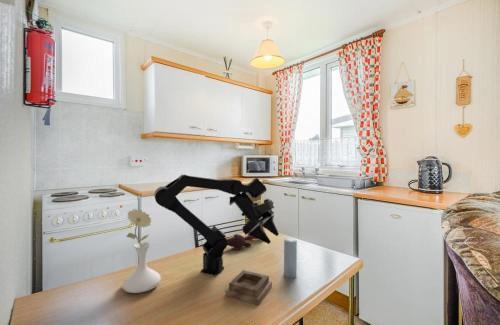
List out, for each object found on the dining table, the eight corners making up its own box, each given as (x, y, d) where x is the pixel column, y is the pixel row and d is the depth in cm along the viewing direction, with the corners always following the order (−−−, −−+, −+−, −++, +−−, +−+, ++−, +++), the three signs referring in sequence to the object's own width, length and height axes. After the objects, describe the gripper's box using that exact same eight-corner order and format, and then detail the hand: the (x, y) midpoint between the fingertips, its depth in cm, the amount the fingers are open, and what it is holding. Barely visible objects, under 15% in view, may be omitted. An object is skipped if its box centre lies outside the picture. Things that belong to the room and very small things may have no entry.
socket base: (225, 295, 72) (225, 283, 72) (241, 278, 82) (241, 268, 82) (258, 304, 68) (258, 292, 68) (271, 286, 78) (271, 275, 77)
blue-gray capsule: (282, 276, 84) (282, 241, 83) (285, 271, 88) (286, 237, 87) (294, 279, 82) (294, 243, 81) (297, 273, 86) (298, 239, 85)
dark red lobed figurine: (222, 239, 103) (255, 239, 107) (220, 230, 109) (251, 230, 114) (220, 253, 104) (252, 253, 108) (218, 243, 111) (248, 243, 115)
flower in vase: (168, 283, 79) (168, 208, 78) (137, 301, 69) (136, 216, 68) (143, 273, 85) (143, 204, 85) (111, 288, 76) (111, 210, 75)
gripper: (250, 196, 81) (281, 233, 76) (269, 189, 97) (295, 219, 93) (230, 216, 84) (258, 253, 80) (251, 206, 101) (276, 236, 97)
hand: (274, 238), depth 87 cm, fingers open, 9 cm apart
